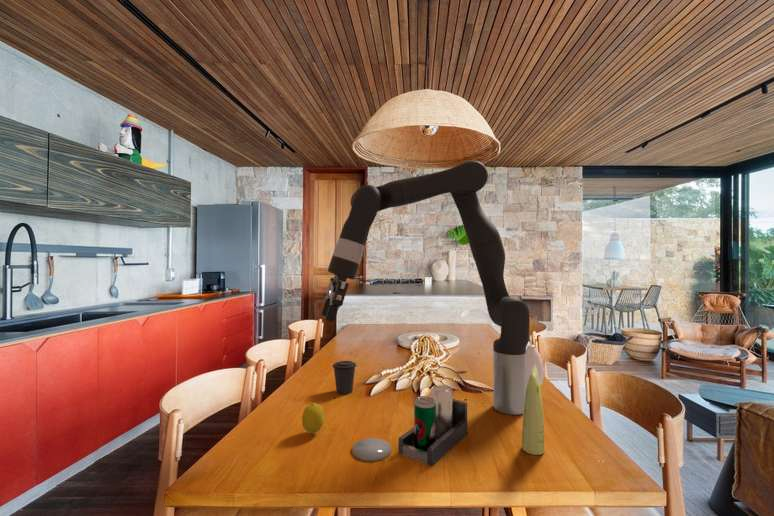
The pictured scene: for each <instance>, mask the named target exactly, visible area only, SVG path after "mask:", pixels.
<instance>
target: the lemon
mask: <svg viewBox="0 0 774 516" xmlns="http://www.w3.org/2000/svg"><path fill="white" fill-rule="evenodd" d="M324 413H325V412H324V410H323V408H322V406H321V405H320V404H318V403H316V402H311V403H310V404H308V405H307V406H305V408H304V409H303V412H302V416H301V417H302V418H301V423H302V427H303V428H304V430H305V431H306V432H307V433H310V434H312V435H315V434H316V433H317V432H319V431H321V429H322V427H323V425H324V421H325V414H324Z"/></svg>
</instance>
